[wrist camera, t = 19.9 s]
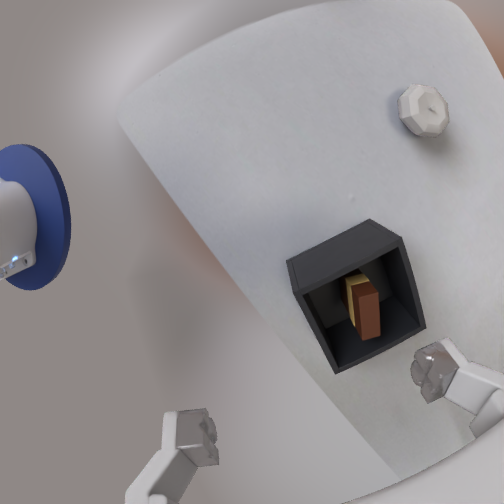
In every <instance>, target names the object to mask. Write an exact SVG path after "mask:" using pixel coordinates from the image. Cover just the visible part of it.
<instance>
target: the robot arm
mask: <svg viewBox="0 0 504 504" xmlns="http://www.w3.org/2000/svg"><path fill="white" fill-rule="evenodd" d="M36 236H37V219H36V213H35V208H34V205H33V202H32V200H31V197H30V195H29V194H28V192H27V191H26V189H25V188H24V187H23V186H22V185H21V184H19V183H17V182H14V181H5V180H3V179H2V178H0V281H1V280H3V279H6V278H8V277H10V276H12V275H14V274H16V273H18V272H20V271H22V270H24V269H26V268H29V267H31V266H33V265H35V263H36V253H35V242H36ZM414 357H415V359H416V360H415V361H414V362H413V363H412V365H411V376H412V379H413V381H414V383H415V384H416V385H418V386H420V387H421V394H422V396H423V397H424V399H425V400H426V402H427V404H428V403H430V402H433V401H435V400H437V399H439V398H441V397H443V396H444V397H445V398H446V399H448V400H450V401H451V402H453V403H455V404H457V405H458V406H460V407H462V408H463V409H465V410H467V411H469V412H470V413H472V414H474V415H476V417H475V418H474V419H473V420H472V422H471V423H470V426H469V427H470V429H471V431H472V432H473V434H474V436H475V437H476V439H475V440H473V441H472V442H470V443H469V444H467V445H466V446H464V447H463V448H461V449H459V450H458V451H456V452H455V453H453V454H451V455H450V456H448V457H446V458H445V459H443V460H441V461H439V462H438V463H436V464H434V465H432V466H430V467H428V468H427V469H425V470H423V471H421V472H419V473H417V474H415V475H413V476H411V477H409V478H406V479H404V480H402V481H400V482H398V483H395V484H393V485H391V486H389V487H386V488H384V489H381V490H379V491H377V492H374V493H371V494H368V495H366V496H363V497H360V498H357V499H355V500H351V501H348V502H345V503H342V504H504V374H503V373H501V372H498V371H496V370H493V369H491V368H488V367H486V366H483V365H480V364H478V363H475V362H473V361H471V362H469V361H468V360H467V359H466V358H465V356H464V355H463V354H462V353H461V351H460V350H459V349H458V348H457V347H456V345H455V344H454V343H453V342H452V341H451V339H450V338H448V337H446V338H443V339H441V340H439V341H437V342H434V343H432V344H430V345H428V346H426V347H423V348H421V349H419V350H417V351H416V352H415V355H414ZM216 441H217V432H216V427H215V424H214V422H213V420H212V418H209V417H208V411H207V410H206V408H203V409H195V410H185V411H173V412H166V413H165V414H164V419H163V433H162V450H158V451H157V452H156V453H155V455H154V456H153V457H152V459H151V460H150V461H149V463H148V464H147V465H146V466H145V468H144V469H143V470H142V472H141V473H140V474H139V475H138V477H137V478H136V479H135V481H134V482H133V483H132V484H131V486H130V487H129V488H128V489H127V491H126V497H125V504H179V503H178V502H179V500H180V499H181V497H182V495H183V494H184V492H185V490H186V488H187V486H188V485H189V483H190V481H191V480H192V478H193V476H194V474H195V473H196V471H197V469H198V468H197V467H202V466H212V465H219V456H218V449H217V448H216V446H215V445H214V444H215V443H216Z"/></svg>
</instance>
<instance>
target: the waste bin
mask: <svg viewBox="0 0 504 504" xmlns="http://www.w3.org/2000/svg"><path fill="white" fill-rule="evenodd" d="M286 263H287V267H288V272H289V276H290V281H291V286H292V290H293V294H294V296H295V298H296V300H297V301H298V303H299V305H300V307H301V309H302V311H303V313H304V315H305V317H306V319H307V321H308V323H309V324H310V326H311V328H312V330H313V332H314V334H315V336H316V338H317V340H318V342H319V344H320V346H321V348H322V350H323V352H324V354H325V356H326V358H327V359H328V361H329V363H330V365H331V367H332V369H333V371H334V373H335V374H338V373H340V372H342V371H344V370H347V369H349V368H351V367H353V366H355V365H358V364H360V363H362V362H364V361H366V360H368V359H370V358H372V357H374V356H376V355H378V354H380V353H382V352H384V351H386V350H388V349H390V348H392V347H393V346H395V345H397V344H399V343H401V342H403V341H405V340H406V339H408V338H410V337H412V336H413V335H415V334H417V333H419V332H420V331H422V330H424V329H426V324H425V319H424V315H423V311H422V306H421V302H420V298H419V294H418V290H417V286H416V283H415V279H414V275H413V272H412V268H411V265H410V262H409V258H408V255H407V252H406V249H405V246H404V243H403V240H402V237H400V236H399V235H397V234H395V233H393V232H392V231H390V230H388V229H387V228H385V227H383V226H382V225H380V224H378V223H376V222H375V221H373V220H371V219H368V220H366V221H364V222H362V223H361V224H359V225H357V226H355V227H353V228H351V229H349V230H347V231H345V232H343V233H341V234H339V235H337V236H335V237H333V238H331V239H329V240H327V241H325V242H323V243H321V244H319V245H317V246H315V247H313V248H311V249H309V250H307V251H305V252H303V253H301V254H299V255H297V256H295V257H293V258H291V259H289V260H286ZM357 268H359V270H360V271H361V272H362V273H363V274H364V275H365V276H366V277H367V278H368V280H369V282H370V283H371V284H372V285H373V286H374V288H375V289H376V290H377V291H378V296H379V312H380V336H377V337H374V338H370V339H367V340H363V341H362V339H361V337H360V335H359V333H358V331H357V329H356V327H354V325H353V323H352V321H351V319H350V316H349V314H348V312H347V310H346V308H345V306H344V304H343V302H342V300H341V293H340V286H339V279H338V278H339V277H341V276H343V275H345V274H347V273H349V272H351V271H353V270H355V269H357Z"/></svg>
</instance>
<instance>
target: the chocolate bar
mask: <svg viewBox="0 0 504 504" xmlns="http://www.w3.org/2000/svg"><path fill="white" fill-rule="evenodd" d="M338 279H339V286H340V293H341V300H342V302H343V304H344V306H345V308H346V310H347V312H348V314H349V316H350V319H351V321H352V323H353V325H354V327H356V329H357V331H358V333H359V335H360V337H361V339H362V341H363V340H367V339H370V338H374V337H377V336H380V312H379V296H378V291H377V290H376V289H375V288H374V286H373V285H372V284H371V283H370V282H369V280H368V278H367V277H366V276H365V275H364V274H363V273H362V272H361V271H360V270H359V268H357V269H355V270H353V271H351V272H349V273H347V274H345V275H343V276H341V277H339V278H338Z"/></svg>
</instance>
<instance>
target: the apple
mask: <svg viewBox="0 0 504 504" xmlns="http://www.w3.org/2000/svg"><path fill="white" fill-rule="evenodd" d="M397 102H398V110H399V118H400V119H401V121H402V122H403V123H404V124H405V125H406V126H407V127H408V128H409V129H410V131H411V132H412V133H414V134H416V135H419V136H428V137H435V138H436V137H437V136H438V135H439V134H440V133H441V132H442V131H443V130H444V128H445V127H446V126H447V124H448V123H449V122H450V121H449V111H448V103H447V102H446V100H445V99H444V98H443V97H442V95H441V94H440V93H439V92H438V91H437V89H436V88H434V87H429V86H424V85H418V84H411V86H410V87H409V88H408V89H407V90H406V91H405V92H404V93H403V94H402V95H401V96H400V98H399V99H398V101H397Z"/></svg>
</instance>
